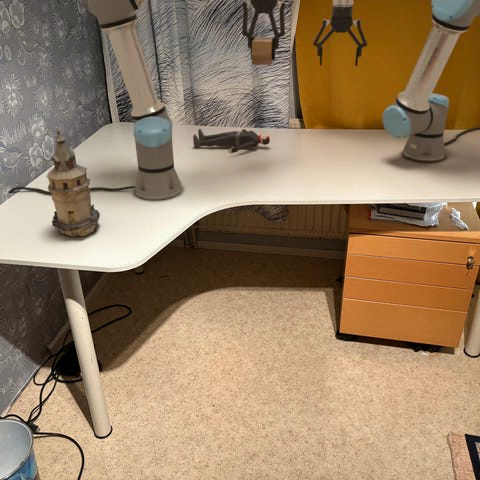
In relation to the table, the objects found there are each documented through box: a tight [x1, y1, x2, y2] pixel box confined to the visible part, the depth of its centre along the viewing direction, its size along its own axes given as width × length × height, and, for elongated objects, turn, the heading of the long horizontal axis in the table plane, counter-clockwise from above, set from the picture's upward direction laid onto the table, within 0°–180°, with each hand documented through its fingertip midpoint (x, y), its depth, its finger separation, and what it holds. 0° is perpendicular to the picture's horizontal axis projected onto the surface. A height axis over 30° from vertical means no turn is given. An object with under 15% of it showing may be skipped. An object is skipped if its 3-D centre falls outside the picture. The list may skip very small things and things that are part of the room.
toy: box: [192, 128, 271, 155], centre depth 214 cm, size 26×6×30 cm
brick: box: [251, 36, 275, 66], centre depth 174 cm, size 9×6×7 cm
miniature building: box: [46, 129, 101, 237], centre depth 148 cm, size 13×14×30 cm
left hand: (263, 58), depth 175 cm, fingers closed on brick, 6 cm apart
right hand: (338, 65), depth 208 cm, fingers open, 13 cm apart
